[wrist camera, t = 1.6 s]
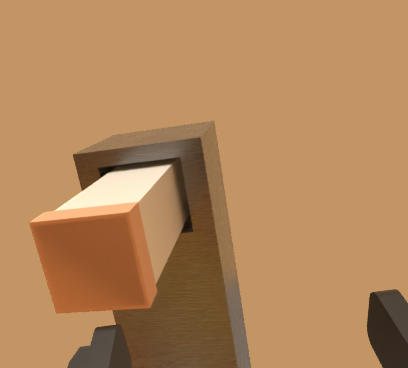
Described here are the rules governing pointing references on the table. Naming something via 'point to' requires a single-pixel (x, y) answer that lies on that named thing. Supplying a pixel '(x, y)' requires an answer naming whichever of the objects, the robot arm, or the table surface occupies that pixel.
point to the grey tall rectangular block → (183, 256)
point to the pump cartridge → (113, 238)
